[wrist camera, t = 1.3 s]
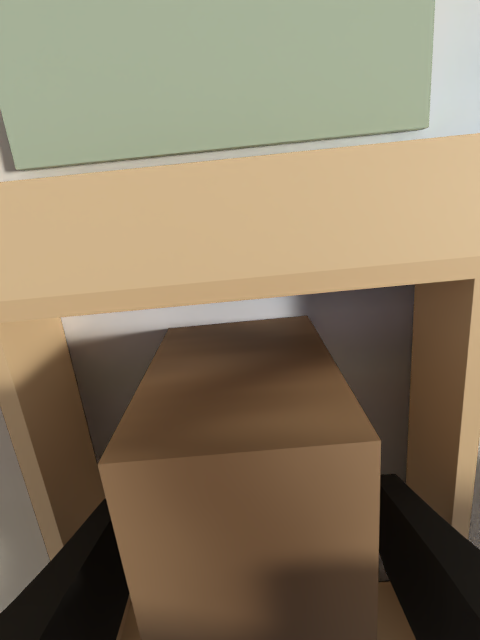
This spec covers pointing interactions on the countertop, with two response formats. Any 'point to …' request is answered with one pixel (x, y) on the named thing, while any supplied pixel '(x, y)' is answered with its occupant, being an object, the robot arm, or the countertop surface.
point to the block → (246, 489)
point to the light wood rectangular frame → (244, 293)
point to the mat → (207, 75)
